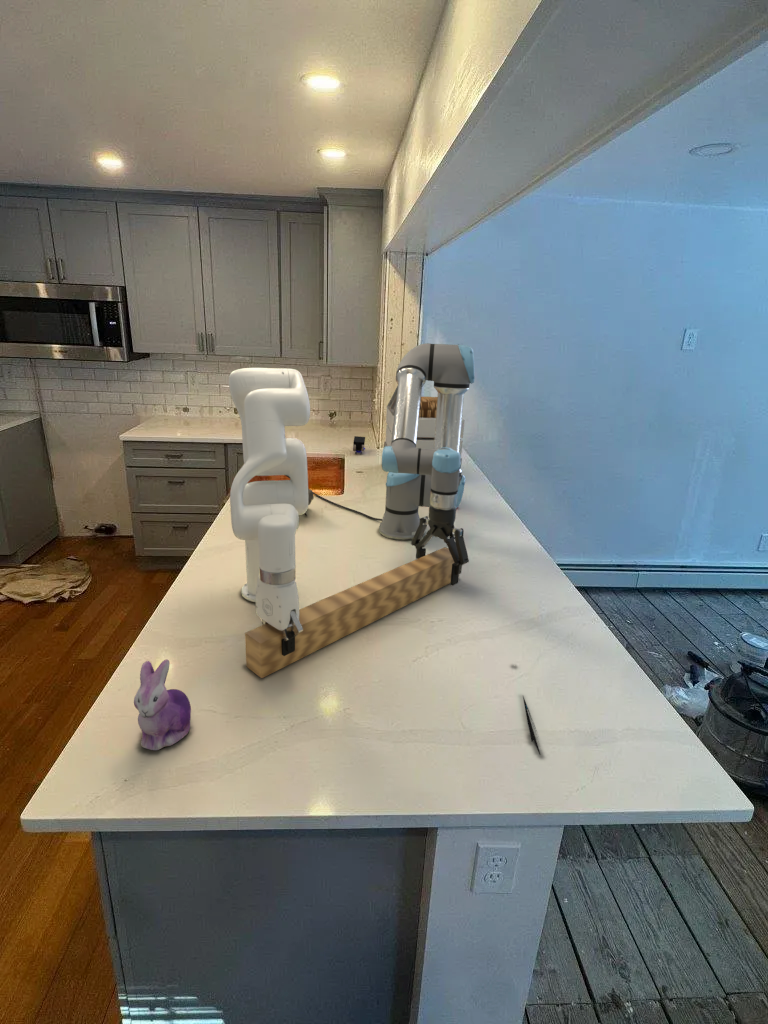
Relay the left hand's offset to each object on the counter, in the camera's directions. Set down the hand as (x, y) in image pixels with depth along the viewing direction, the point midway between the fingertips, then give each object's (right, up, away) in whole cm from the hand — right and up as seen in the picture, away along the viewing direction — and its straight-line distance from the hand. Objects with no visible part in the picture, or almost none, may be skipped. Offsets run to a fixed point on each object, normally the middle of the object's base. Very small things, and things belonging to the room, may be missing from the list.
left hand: (279, 646), depth 125 cm
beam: (+19, +3, +21) cm, 28 cm away
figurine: (-16, -11, -22) cm, 30 cm away
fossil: (-10, +28, +88) cm, 93 cm away
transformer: (+40, +48, +150) cm, 163 cm away
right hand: (+39, +11, +39) cm, 56 cm away
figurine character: (+10, +62, +184) cm, 195 cm away
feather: (+52, -10, -10) cm, 54 cm away
